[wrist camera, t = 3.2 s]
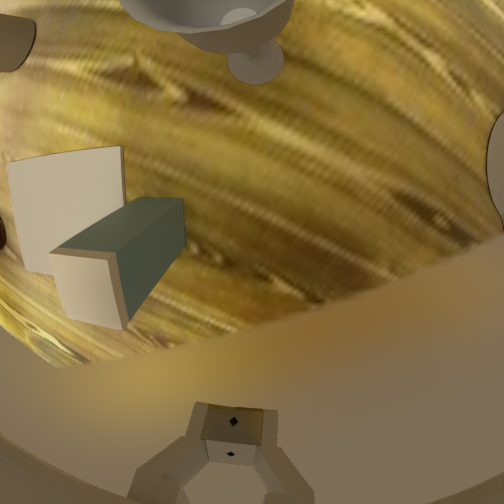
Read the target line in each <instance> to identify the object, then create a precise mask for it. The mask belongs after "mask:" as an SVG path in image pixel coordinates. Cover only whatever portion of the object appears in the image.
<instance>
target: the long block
mask: <svg viewBox="0 0 504 504" xmlns="http://www.w3.org/2000/svg"><path fill="white" fill-rule="evenodd" d="M184 247H185V230H184V205H183V199H177V198H137V199H135V200H133V201H131V202H130V203H128V204H126V205H124V206H123V207H121V208H119V209H117V210H116V211H114V212H112V213H111V214H109V215H107V216H105V217H104V218H102V219H100V220H99V221H97V222H95V223H94V224H92V225H91V226H89V227H87V228H86V229H84V230H83V231H81V232H79V233H78V234H76V235H75V236H73V237H72V238H70V239H68V240H67V241H65V242H64V243H62V244H61V245H59V246H58V247H56V248H55V249H53V250H52V251H51V252H49V253H48V256H49V260H50V264H51V268H52V272H53V276H54V279H55V283H56V287H57V290H58V293H59V297H60V300H61V303H62V306H63V309H64V312H65V315H66V318H70V319H74V320H78V321H82V322H86V323H90V324H95V325H99V326H103V327H108V328H112V329H117V330H122V331H123V330H124V329H125V327H126V326H127V324H128V323H129V321H130V320H131V319H132V317H133V316H134V314H135V313H136V312H137V310H138V309H139V307H140V306H141V305H142V303H143V302H144V300H145V299H146V298H147V296H148V295H149V294H150V292H151V291H152V290H153V288H154V287H155V285H156V284H157V283H158V281H159V280H160V279H161V277H162V276H163V275H164V273H165V272H166V271H167V269H168V268H169V267H170V265H171V264H172V263H173V262H174V260H175V259H176V258H177V256H178V255H179V254H180V252H181V251H182V250H183V249H184Z"/></svg>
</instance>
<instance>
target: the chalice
mask: <svg viewBox="0 0 504 504" xmlns="http://www.w3.org/2000/svg"><path fill="white" fill-rule="evenodd" d="M119 1H120V4H121V5H122V6H123V7H124V9H125V10H126V11H127V12H128V13H129V14H130V15H131V16H132V17H133V18H134V19H135V20H137V21H139V22H141V23H144V24H146V25H148V26H150V27H153V28H155V29H157V30H160V31H171V32H177V33H178V34H179V35H180V36H181V37H183V38H184V39H185V40H186V41H188V42H189V43H191V44H193V45H195V46H196V47H198V48H200V49H202V50H204V51H209V52H214V53H219V54H228V57H227V60H228V67H229V69H230V72H231V73H232V74H233V75H234V76H235V78H236V79H238V80H240V81H242V82H243V83H247V84H251V85H257V84H264V83H267V82H270V81H271V80H272V79H274V78H275V77H277V76H278V74H279V73H280V71H281V70H282V67H283V64H284V54H283V52H282V50H281V47H280V46H279V45H278V44H277V43H276V42H275V41H274V40H272V39H273V38H274V37H276V36H277V35H279V34H280V32H281V31H282V29H283V28H284V27H285V25H286V24H287V23H288V21H289V19H290V16H291V12H292V8H293V4H294V0H119Z"/></svg>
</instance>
